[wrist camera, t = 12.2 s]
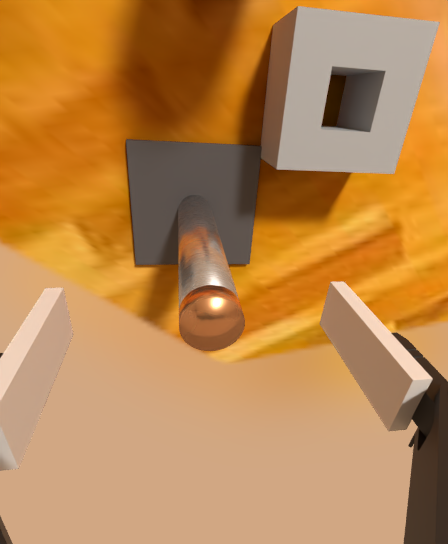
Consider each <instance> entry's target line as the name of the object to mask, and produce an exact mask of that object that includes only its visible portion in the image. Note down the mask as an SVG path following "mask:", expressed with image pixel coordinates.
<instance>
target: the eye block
mask: <svg viewBox="0 0 448 544" xmlns="http://www.w3.org/2000/svg"><path fill="white" fill-rule="evenodd" d="M439 23H440V22H434V21H425V20H416V19H407V18H398V17H389V16H380V15H371V14H362V13H353V12H344V11H335V10H327V9H318V8H309V7H300V6H298V7H296V8H295V9H294V10H292V11H291V12H290V13H288V14H287V15H286V16H285V17H283V18H282V19H281V20H279V21H278V22H277V23H275V24H274V25H273V32H272V41H271V51H270V60H269V70H268V79H267V88H266V98H265V107H264V117H263V126H262V136H261V145H260V146H262V151H261V159H263V160H264V161H265V162H267V163H268V164H270V165H271V166H272V167H274V168H275V169H278V170H305V171H332V172H359V173H386V174H394V172H395V169H396V166H397V162H398V159H399V156H400V152H401V149H402V146H403V142H404V139H405V136H406V132H407V129H408V126H409V122H410V119H411V116H412V112H413V109H414V106H415V102H416V99H417V96H418V92H419V89H420V86H421V83H422V79H423V76H424V73H425V69H426V66H427V63H428V59H429V56H430V53H431V49H432V46H433V43H434V39H435V36H436V33H437V29H438V26H439ZM331 75H341V76H346V81H345V86H344V91H343V96H342V101H341V106H340V111H339V115H338V120H337V125H336V126H323V125H322V120H323V114H324V109H325V103H326V98H327V93H328V87H329V82H330V76H331Z"/></svg>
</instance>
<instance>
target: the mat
mask: <svg viewBox="0 0 448 544" xmlns="http://www.w3.org/2000/svg"><path fill="white" fill-rule="evenodd" d="M126 147H127V159H128V172H129V184H130V197H131V209H132V222H133V234H134V247H135V260H136V265H162V264H179V252H178V207H179V204H180V202H181V201H182V200H183V199H184V198H185V197H187V196H190V195H200V196H202V197H204V198H205V199H206V200H207V201H208V202H209V204H210V207H211V210H212V213H213V217H214V220H215V223H216V226H217V230H218V233H219V236H220V240H221V243H222V246H223V249H224V253H225V256H226V259H227V263H228V264H249V263H250V253H251V244H252V235H253V225H254V216H255V207H256V197H257V188H258V179H259V170H260V160H261V151H262V146H256V145H235V144H214V143H193V142H172V141H151V140H130V139H127V140H126Z"/></svg>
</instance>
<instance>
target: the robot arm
mask: <svg viewBox="0 0 448 544" xmlns="http://www.w3.org/2000/svg"><path fill="white" fill-rule="evenodd" d="M320 325H321V327H322V328H323V330H324V331H325V333H326V335H327V336H328V338H329V339H330V341H331V342H332V344H333V345H334V347H335V348H336V350H337V352H338V353H339V355H340V356H341V358H342V359H343V361H344V362H345V364H346V366H347V367H348V369H349V370H350V372H351V374H352V375H353V377H354V378H355V380H356V381H357V383H358V384H359V386H360V388H361V389H362V391H363V392H364V394H365V395H366V397H367V399H368V400H369V401H370V403H371V405H372V406H373V408H374V409H375V411H376V413H377V414H378V416H379V417H380V419H381V420H382V422H383V423H384V425H385V427H386V428H387V430H388V431H396V430H405V429H407V427H408V425H409V424H410V422H411V420H413V421H414V422H415V424H416V425H417V426H418V428H417V430H416V432H415V434H414V436H413V438H412V440H411V442H410V444H409V447H412V446H413V444H414V449H413V459H412V469H411V478H410V488H409V498H408V507H407V517H406V527H405V537H404V544H448V382H447V380H446V379H445V378H444V377H443V376H442V375H441V374H440V373H439V372H438V371H437V370H436V369H435V368H434V367H433V366H432V365H431V364H430V363H429V361H428V360H427V359H425V358H423V355H422V354H421V353H420V352H419V351H418V350H416V348H415V347H414V346H413V345H412V344H411V343H410V342H409V341H408V340H407V339H406V338H404V337H403V336H401V335H399V334H398V333H391V332H390V331H389V330H388V329H387V328H386V327H385V326H384V325H383V324H382V323H381V322H380V320H379V319H378V318H377V317H376V316H375V315H374V314H373V313H372V312H371V311H370V309H369V308H368V307H367V306H366V305H365V304H364V303H363V302H362V301H361V300H360V299H359V297H358V296H357V295H356V294H355V293H354V292H353V291H352V290H351V289H350V288H349V286H348V285H347V284H346V283H345V282H330V286H329V289H328V293H327V297H326V301H325V305H324V309H323V313H322V317H321V321H320ZM72 337H73V330H72V326H71V321H70V316H69V312H68V307H67V302H66V298H65V293H64V288H45V290H44V291H43V293H42V295H41V296H40V298H39V299H38V301H37V302H36V304H35V305H34V307H33V308H32V310H31V312H30V313H29V315H28V316H27V318H26V319H25V321H24V323H23V324H22V325H21V327H20V329H19V330H18V332H17V333H16V335H15V337H14V338H13V340H12V341H11V343H10V344H9V346H8V347H7V349H6V350H5V352H4V353H0V471H1V470H10V469H19V467H20V464H21V462H22V459H23V457H24V455H25V452H26V450H27V447H28V445H29V442H30V440H31V437H32V435H33V433H34V430H35V428H36V425H37V423H38V420H39V418H40V415H41V413H42V410H43V408H44V405H45V403H46V400H47V398H48V396H49V393H50V391H51V388H52V386H53V383H54V381H55V378H56V376H57V373H58V371H59V369H60V366H61V364H62V361H63V358H64V356H65V354H66V351H67V349H68V346H69V344H70V342H71V339H72ZM0 544H12V542H11V539H10V537H9V535H8V533H7V530H6V528H5V526H4V524H3V521H2V519H1V517H0Z"/></svg>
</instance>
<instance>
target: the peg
mask: <svg viewBox="0 0 448 544" xmlns="http://www.w3.org/2000/svg"><path fill="white" fill-rule="evenodd" d="M178 252H179V330H180V334H181V336H182V338H183V339H184V341H185V342H186V343H187V344H189V345H190V346H192V347H194V348H196V349H199V350H204V351H215V350H220V349H223V348H226V347H228V346H230V345H231V344H233V343H234V342H235V341H236V340H237V339H238V338H239V337H240V336H241V334H242V332H243V330H244V326H245V319H244V315H243V312H242V309H241V305H240V302H239V299H238V296H237V292H236V289H235V286H234V282H233V279H232V276H231V272H230V269H229V266H228V263H227V259H226V256H225V253H224V249H223V246H222V243H221V240H220V236H219V233H218V230H217V226H216V223H215V220H214V217H213V213H212V210H211V207H210V204H209V202H208V201H207V200H206V199H205V198H204V197H202V196H200V195H190V196H187V197H185V198H184V199H183V200H182V201H181V202H180V204H179V207H178Z"/></svg>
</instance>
